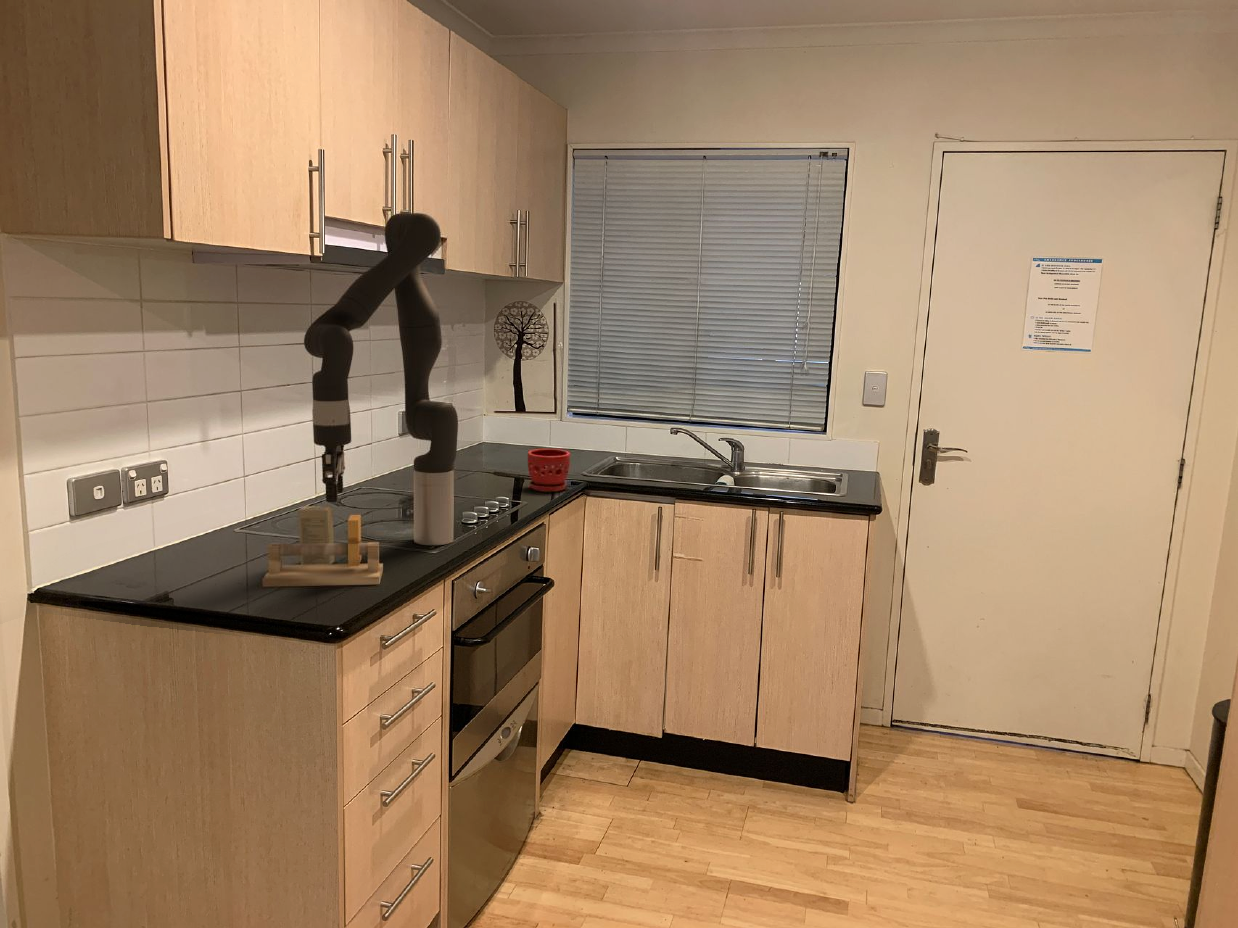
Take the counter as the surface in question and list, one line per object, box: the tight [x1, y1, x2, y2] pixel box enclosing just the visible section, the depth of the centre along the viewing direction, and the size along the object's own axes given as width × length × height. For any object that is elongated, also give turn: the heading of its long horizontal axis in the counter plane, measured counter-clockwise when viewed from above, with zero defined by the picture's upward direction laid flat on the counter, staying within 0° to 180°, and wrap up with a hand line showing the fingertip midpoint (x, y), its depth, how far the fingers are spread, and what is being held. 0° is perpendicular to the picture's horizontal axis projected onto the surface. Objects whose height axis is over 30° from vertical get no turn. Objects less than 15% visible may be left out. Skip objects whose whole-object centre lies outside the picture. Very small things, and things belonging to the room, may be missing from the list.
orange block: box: [347, 514, 362, 566], centre depth 183 cm, size 6×2×9 cm, turn 10°
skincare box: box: [297, 505, 335, 565], centre depth 193 cm, size 6×4×12 cm
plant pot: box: [527, 448, 571, 493], centre depth 282 cm, size 13×13×12 cm
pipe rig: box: [262, 541, 384, 588], centre depth 183 cm, size 10×22×9 cm, turn 100°
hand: (335, 497), depth 191 cm, fingers open, 8 cm apart
